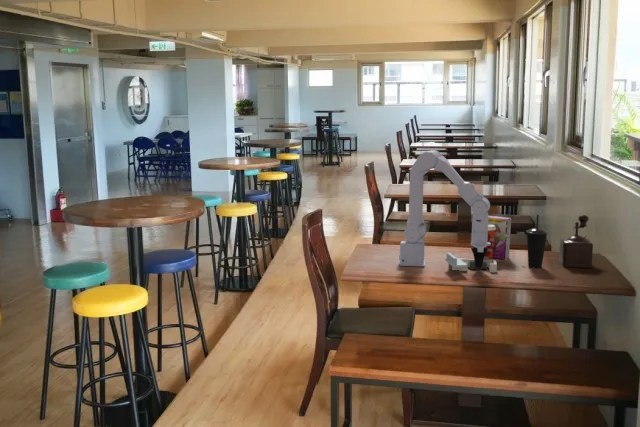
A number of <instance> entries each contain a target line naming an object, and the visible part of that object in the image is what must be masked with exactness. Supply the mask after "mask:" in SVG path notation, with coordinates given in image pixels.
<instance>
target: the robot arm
mask: <svg viewBox="0 0 640 427" xmlns="http://www.w3.org/2000/svg"><path fill="white" fill-rule="evenodd" d="M431 169H433V170H434V171H437V172H441V173H443V174H444V175H445V176H446V178H448V179H449V180H450V181H451V182H452V183H453V184H454V185H455V186H456V187H457V193H458V194H459V196H460V197H461V198H462V199H463V200H464V201H465V203H466V204H468V205H469V206H470V210H471V212H472V220H471V240H470V245H471V247H470V249H471V252H472V254H473V259H474V261H475V267H477V268H481V267H482V264H483V259H484V256H485V254H486V253H487V248H486V246H488V245H491V243H489V242H487V240H488V216H489V212H488V211H489V210H490V209H491V208H490V207H491V203H490V202H491V201H489V199H488V198H487V197H484V194H483V193H482V194H481V193H480V192H479V191H478V190H477V188H476V185H475V183H471V181H465V180H464V179H463V177H462V176H461V175H460V174H459V173H458V172H457V170H456V169H455V168H454V167H453V166H452V165H451V163H450V162H449V161H448V160H447V158H446V157H445V156H444V155H442V153H441V152H440V151H438V150H436V149H431V150H429V151H425V152H422V153H421V154H419V155H418V156H417V157H416V159H415V162H414V163H413V164H412V166H411V168H410V169H409V192H408V193H409V194H408V195H409V196H408V197H409V200H408V201H409V202H408V204H409V205H408V218H407V221H406V227H405V228H404V231H403V237H404V239H405V240H403V241H402V240H401V241H400V244H399V257H398V260H399V266H400V267H401V266H402V267H403V266H405V267H421V268H422V267H424V268H425V266H426V260H425V239H424V237H425V236H426V234H427V227H426V225H425V219H424V216H423V214H424V212H423V209H424V176H425V175H426V174H427V173H428V172H429V171H430V170H431Z"/></svg>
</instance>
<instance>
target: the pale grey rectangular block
mask: <svg viewBox="0 0 640 427" xmlns="http://www.w3.org/2000/svg"><path fill="white" fill-rule="evenodd" d="M450 253H451V254H452V255H454V254H453V253H452V252H450ZM459 259H460V260H462V261H463V262H464V263H466V264H467V267H452V266H451V265H450V264H449V263H448V265H447V266H448V269H449V268H452V269H451V271H452V270H459V271H458V272H468V268H470V261H474V258H459ZM496 260H497V259H492V260H489V257H484V259H483V262H487V267H488V268H487V269H489V271H490V272H489V273H497V272H498V271H497V270H498V263H497V261H496ZM489 267H490V268H489Z"/></svg>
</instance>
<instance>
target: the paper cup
mask: <svg viewBox="0 0 640 427" xmlns="http://www.w3.org/2000/svg"><path fill="white" fill-rule="evenodd" d="M495 230H496V228H495V225H492V224H488V240H487V242H489V243H491V245H488V246H486V248H487V253H486V254H485V256H484V257H489V260H493V258H492V255H493V246H494V236H495Z"/></svg>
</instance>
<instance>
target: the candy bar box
mask: <svg viewBox="0 0 640 427" xmlns="http://www.w3.org/2000/svg"><path fill="white" fill-rule="evenodd" d="M488 224H492V225H495V228H496V230H495V236H494V246H493V255H492V259H494V258H495V259H494V260H501V261H502V260H503V261H507V260H508V259H509V258H510V248H511V247H510V246H511V244H510V243H511V230H512V229H511V228H512V227H511V226H512V218H511V217H505V216H496V215H488Z"/></svg>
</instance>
